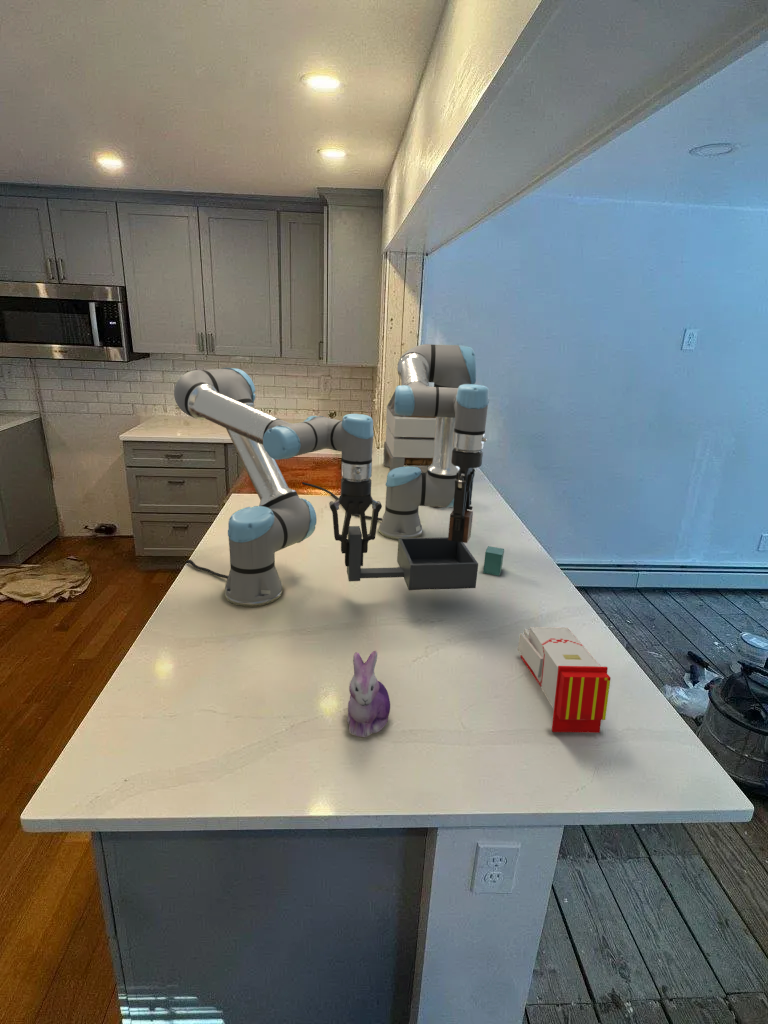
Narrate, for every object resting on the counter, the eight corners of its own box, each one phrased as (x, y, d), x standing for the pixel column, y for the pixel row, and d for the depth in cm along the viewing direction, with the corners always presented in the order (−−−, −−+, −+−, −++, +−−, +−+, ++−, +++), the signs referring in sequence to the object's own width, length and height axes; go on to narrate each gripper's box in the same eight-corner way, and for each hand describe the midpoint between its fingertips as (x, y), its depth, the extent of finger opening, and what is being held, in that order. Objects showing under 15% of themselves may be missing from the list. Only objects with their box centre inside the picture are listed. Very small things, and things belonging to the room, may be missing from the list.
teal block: (482, 572, 173) (485, 551, 171) (485, 566, 177) (488, 545, 175) (499, 575, 171) (502, 554, 169) (501, 569, 176) (504, 548, 174)
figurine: (356, 747, 102) (359, 677, 97) (334, 712, 111) (335, 646, 105) (402, 731, 106) (406, 663, 101) (377, 699, 115) (380, 635, 110)
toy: (564, 611, 133) (619, 673, 103) (558, 664, 135) (611, 739, 106) (512, 610, 132) (554, 672, 103) (508, 663, 135) (547, 738, 106)
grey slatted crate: (382, 463, 289) (386, 382, 275) (445, 464, 293) (451, 384, 279) (390, 482, 257) (394, 392, 243) (460, 483, 261) (468, 394, 247)
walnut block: (447, 540, 145) (450, 514, 143) (451, 533, 150) (454, 508, 147) (467, 543, 144) (469, 517, 142) (470, 536, 148) (473, 511, 146)
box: (350, 592, 141) (352, 543, 137) (344, 562, 157) (346, 518, 153) (475, 588, 146) (481, 541, 142) (457, 559, 162) (461, 517, 158)
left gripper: (324, 482, 136) (323, 571, 144) (390, 482, 138) (386, 569, 146) (322, 473, 143) (322, 558, 151) (386, 473, 145) (382, 557, 153)
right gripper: (476, 459, 130) (467, 552, 138) (488, 443, 146) (479, 527, 154) (444, 455, 132) (437, 547, 140) (459, 440, 148) (452, 523, 156)
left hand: (353, 563), depth 148 cm, fingers closed on box, 3 cm apart
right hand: (459, 537), depth 147 cm, fingers closed on walnut block, 5 cm apart
